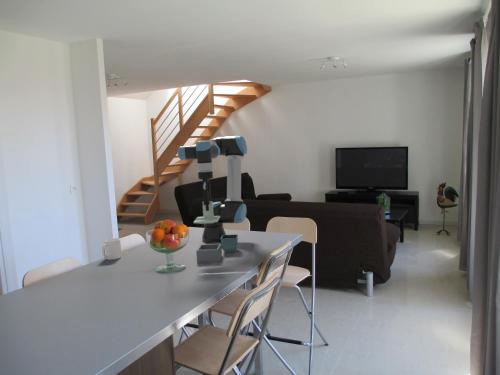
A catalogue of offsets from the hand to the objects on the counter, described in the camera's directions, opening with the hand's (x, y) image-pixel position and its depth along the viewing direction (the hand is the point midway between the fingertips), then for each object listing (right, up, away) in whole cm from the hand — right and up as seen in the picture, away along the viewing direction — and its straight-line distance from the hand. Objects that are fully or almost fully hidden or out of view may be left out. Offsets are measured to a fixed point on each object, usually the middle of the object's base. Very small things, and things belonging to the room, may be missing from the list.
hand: (208, 216), depth 213 cm
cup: (-55, -24, +12) cm, 61 cm away
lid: (0, -2, -5) cm, 5 cm away
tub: (+1, -22, -3) cm, 23 cm away
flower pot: (+11, -21, +11) cm, 26 cm away
